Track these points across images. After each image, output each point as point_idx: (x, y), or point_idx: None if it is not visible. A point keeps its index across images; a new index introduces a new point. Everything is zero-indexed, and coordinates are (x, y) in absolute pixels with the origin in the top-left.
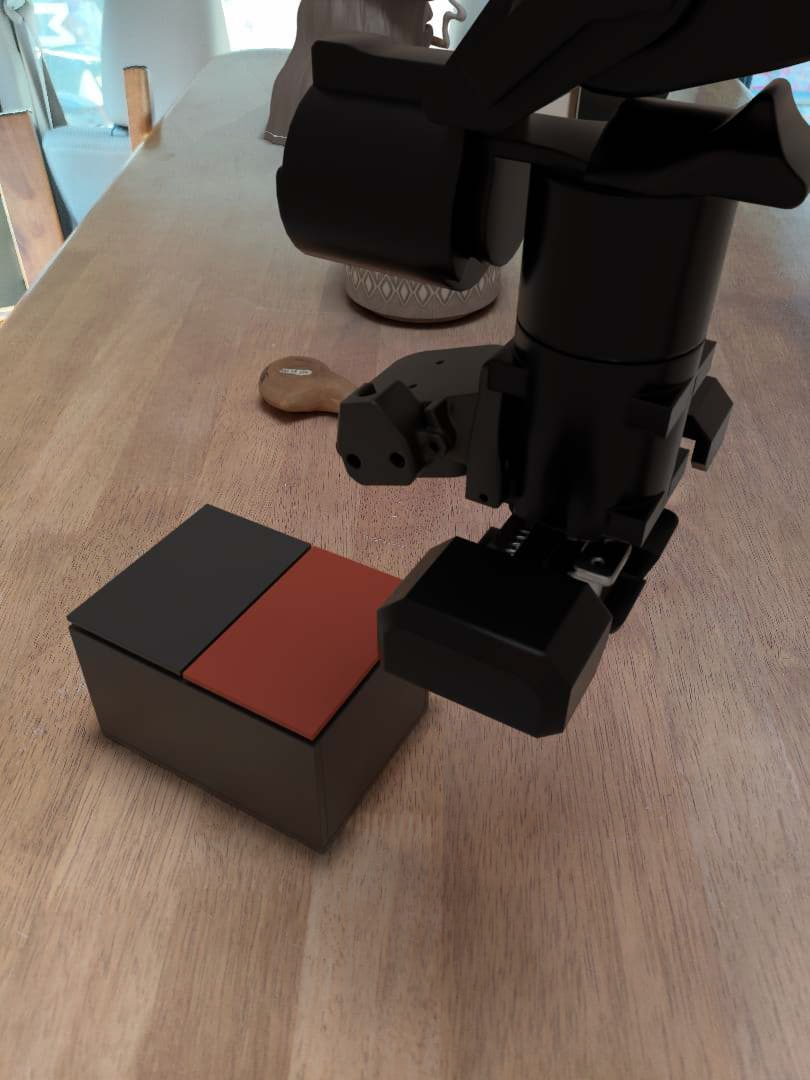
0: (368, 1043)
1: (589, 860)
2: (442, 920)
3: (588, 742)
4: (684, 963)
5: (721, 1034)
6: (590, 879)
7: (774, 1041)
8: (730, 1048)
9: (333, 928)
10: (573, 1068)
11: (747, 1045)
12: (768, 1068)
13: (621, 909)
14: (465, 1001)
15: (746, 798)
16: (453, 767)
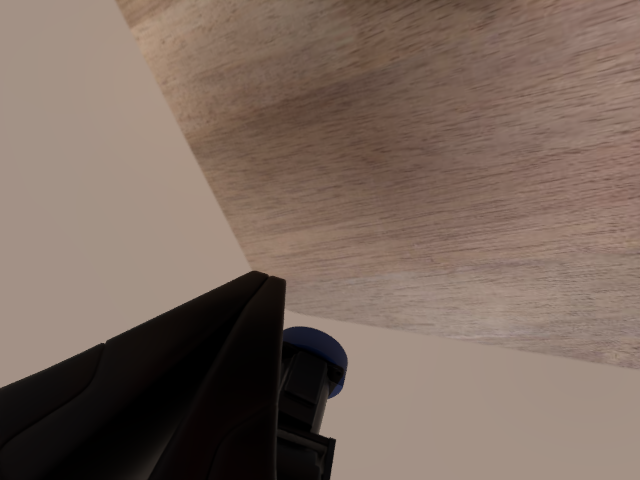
0: (172, 80)
1: (355, 207)
2: (268, 105)
3: (482, 196)
4: (303, 264)
5: None
6: (340, 209)
7: None
8: None
9: (224, 10)
10: (222, 209)
11: None
12: None
13: (324, 230)
14: (225, 139)
15: (440, 308)
16: (424, 64)
